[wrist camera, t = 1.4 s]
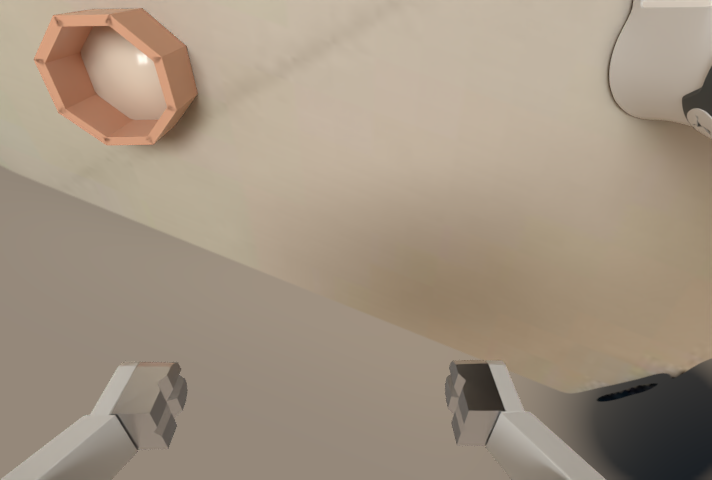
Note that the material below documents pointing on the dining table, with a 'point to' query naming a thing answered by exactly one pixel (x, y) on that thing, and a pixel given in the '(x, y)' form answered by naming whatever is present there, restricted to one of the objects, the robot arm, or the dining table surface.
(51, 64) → the bowl
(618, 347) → the dining table surface
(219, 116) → the dining table surface
